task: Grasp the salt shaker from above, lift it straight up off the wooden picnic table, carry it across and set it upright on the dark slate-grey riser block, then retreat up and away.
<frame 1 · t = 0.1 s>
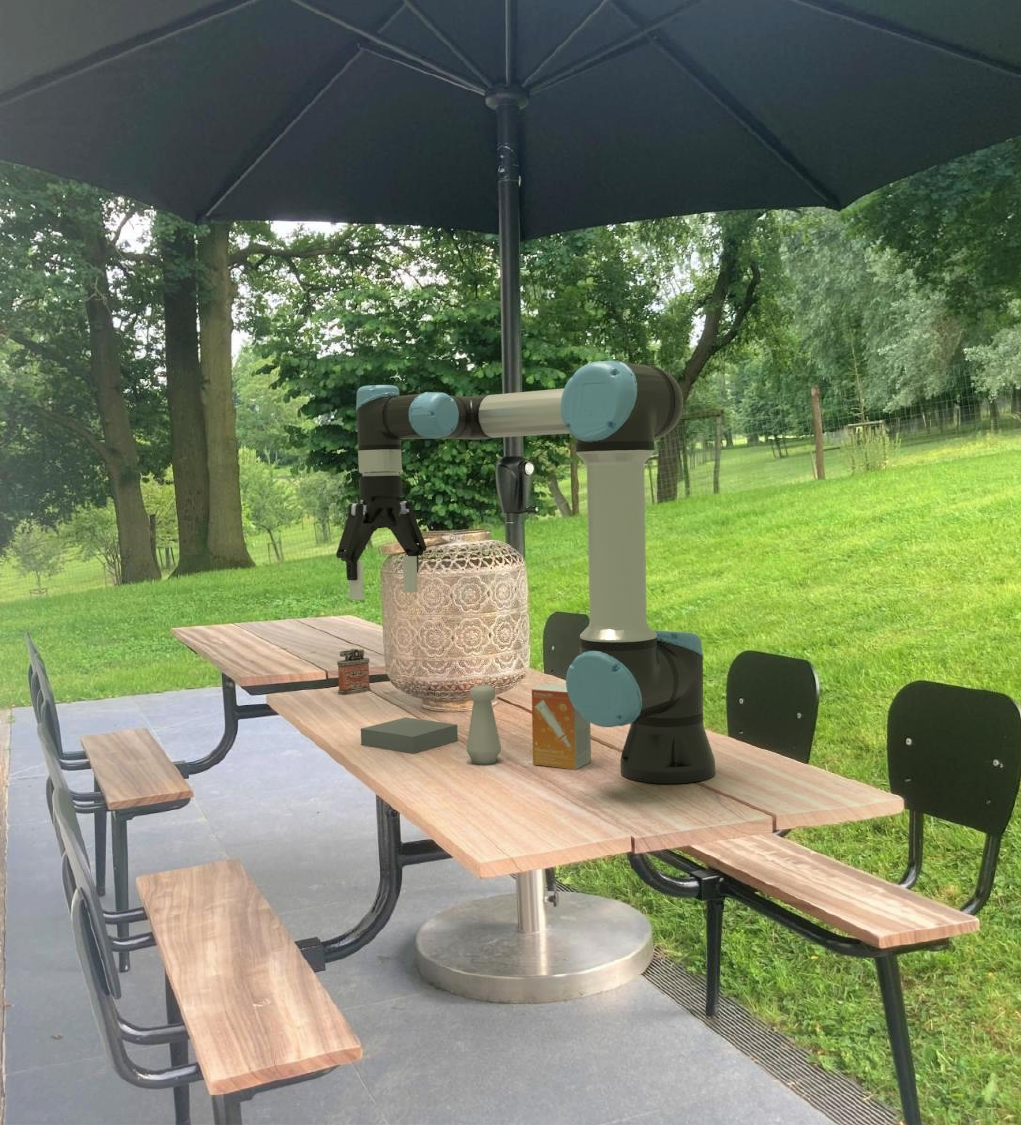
hand: (384, 595, 208), 28 cm above the table, tool pointing down, fingers open, 13 cm apart
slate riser: (409, 742, 217), on the table
lighter: (354, 693, 271), on the table
small box: (562, 764, 198), on the table
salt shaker: (484, 762, 201), on the table
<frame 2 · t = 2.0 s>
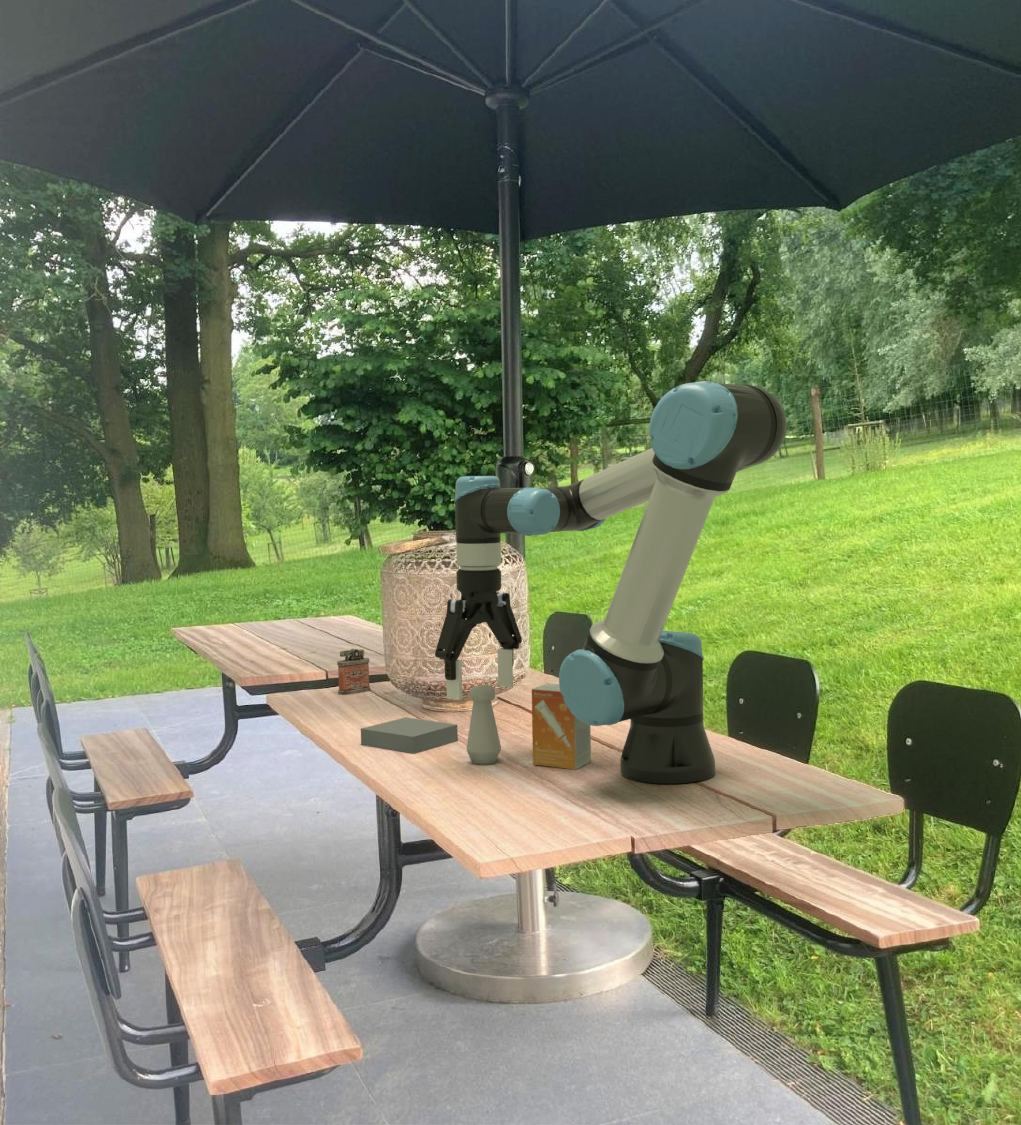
hand: (480, 692, 200), 12 cm above the table, tool pointing down, fingers open, 13 cm apart
nothing on the table moved.
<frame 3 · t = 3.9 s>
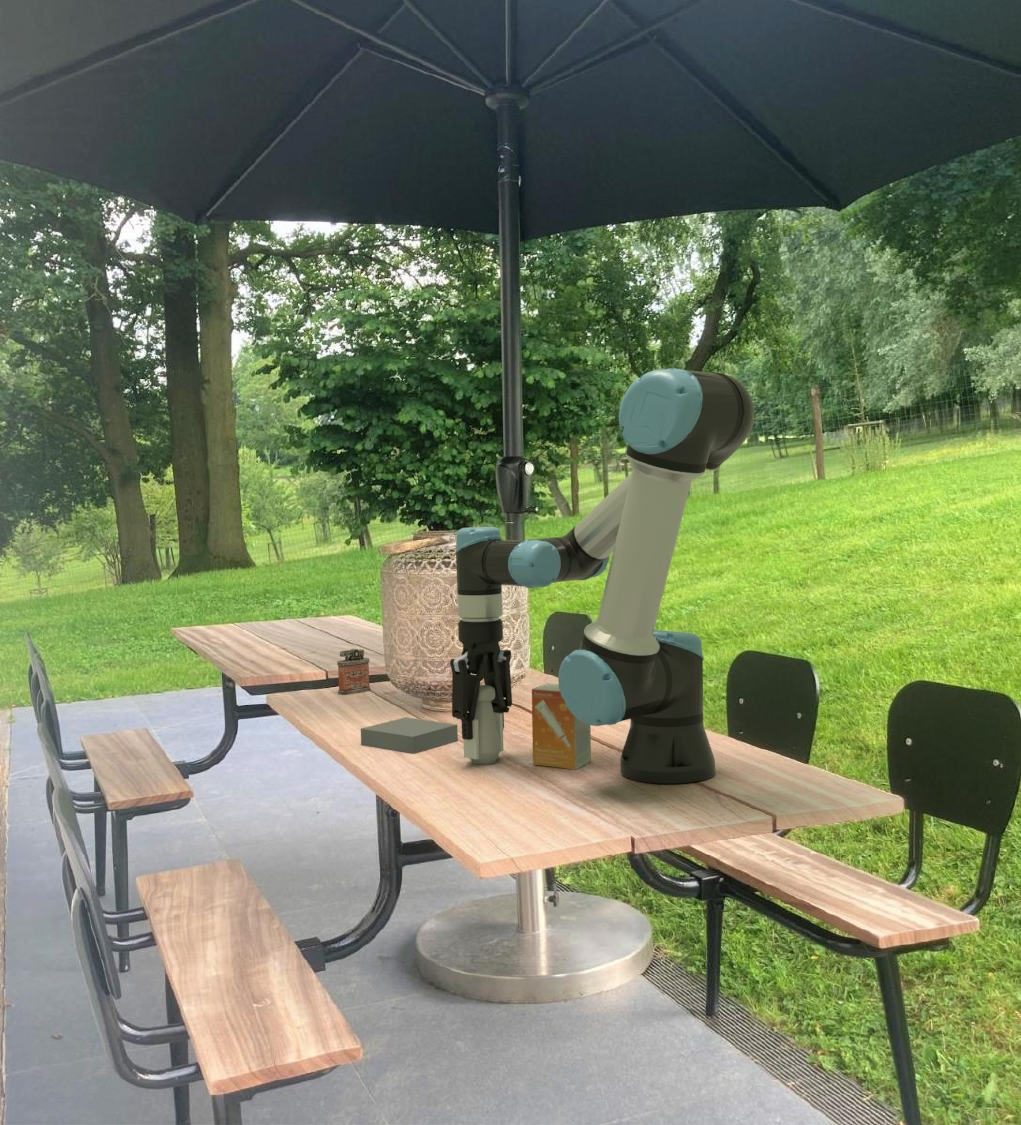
hand: (483, 753, 201), 1 cm above the table, tool pointing down, fingers closed on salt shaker, 6 cm apart
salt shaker: (484, 762, 201), on the table, touching gripper
everything else where it was.
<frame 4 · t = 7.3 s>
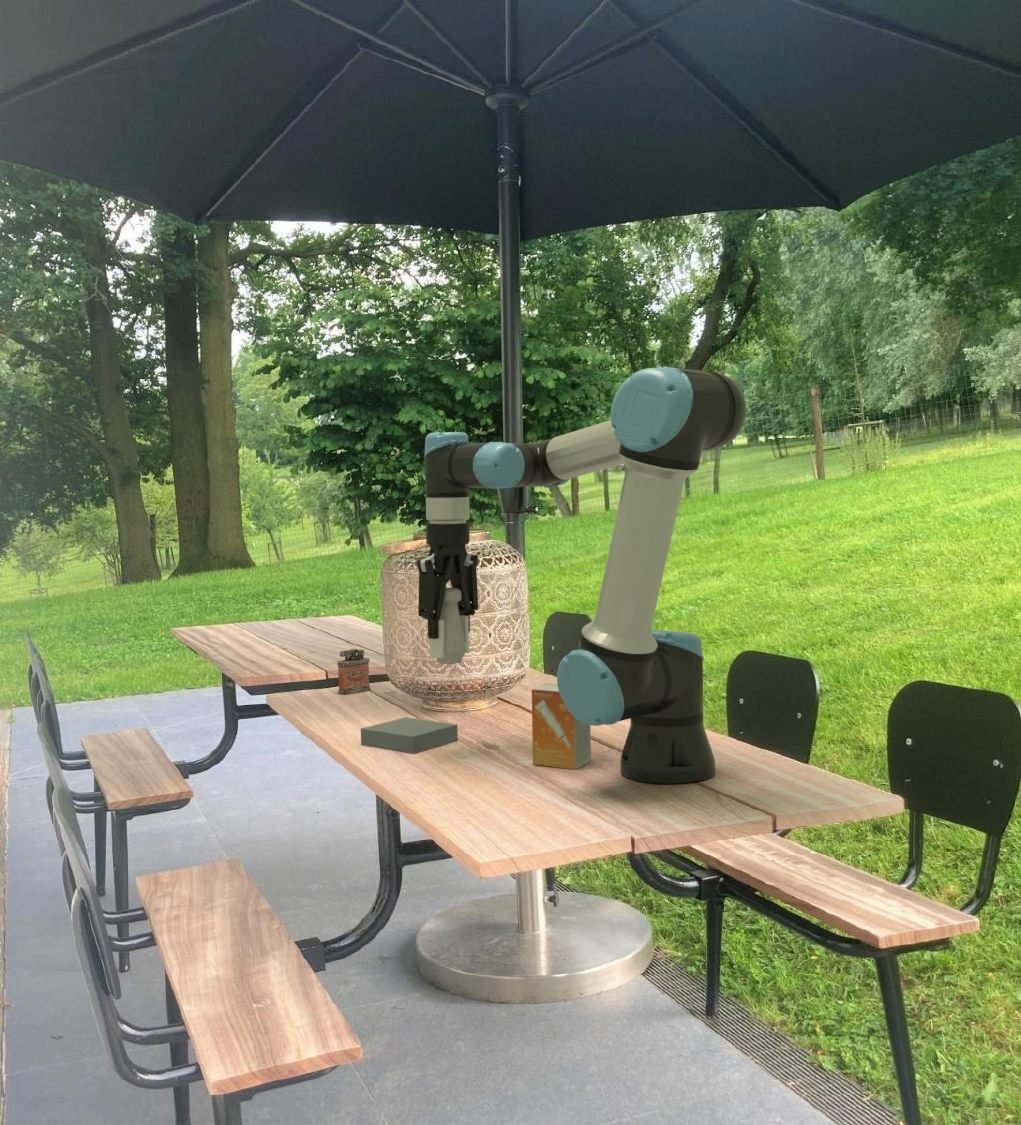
hand: (449, 654, 206), 18 cm above the table, tool pointing down, fingers closed on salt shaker, 6 cm apart
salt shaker: (449, 663, 206), point 16 cm above the table, touching gripper
everything else where it was.
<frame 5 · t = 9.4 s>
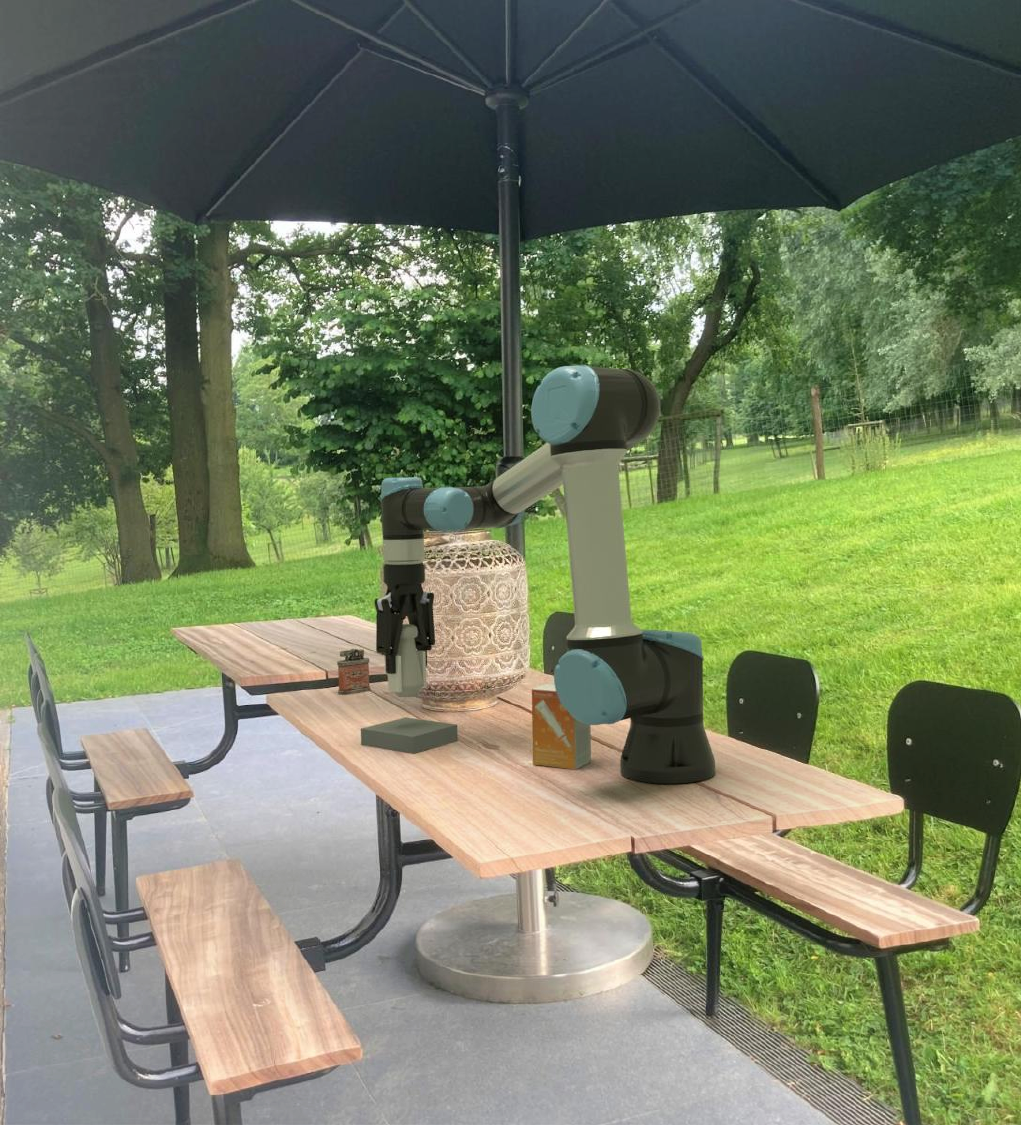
hand: (407, 688, 216), 10 cm above the table, tool pointing down, fingers closed on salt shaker, 6 cm apart
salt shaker: (407, 696, 217), point 9 cm above the table, touching gripper
everything else where it was.
when the fingers open (5 cm above the table, at t = 11.0 s): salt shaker stays where it is, resting on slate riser.
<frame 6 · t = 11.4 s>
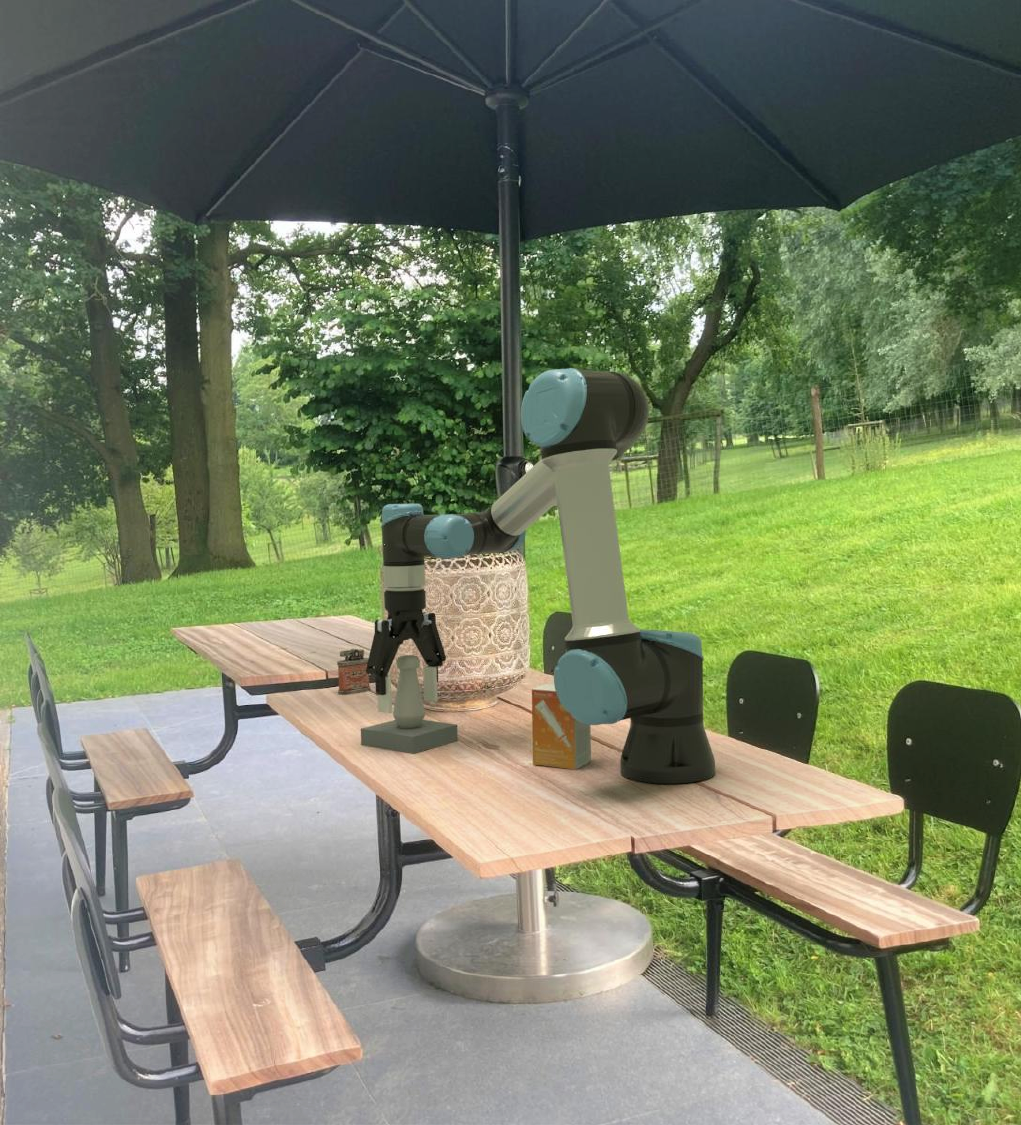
hand: (408, 706, 217), 7 cm above the table, tool pointing down, fingers open, 11 cm apart
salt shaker: (409, 727, 217), point 3 cm above the table, touching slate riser
everything else where it was.
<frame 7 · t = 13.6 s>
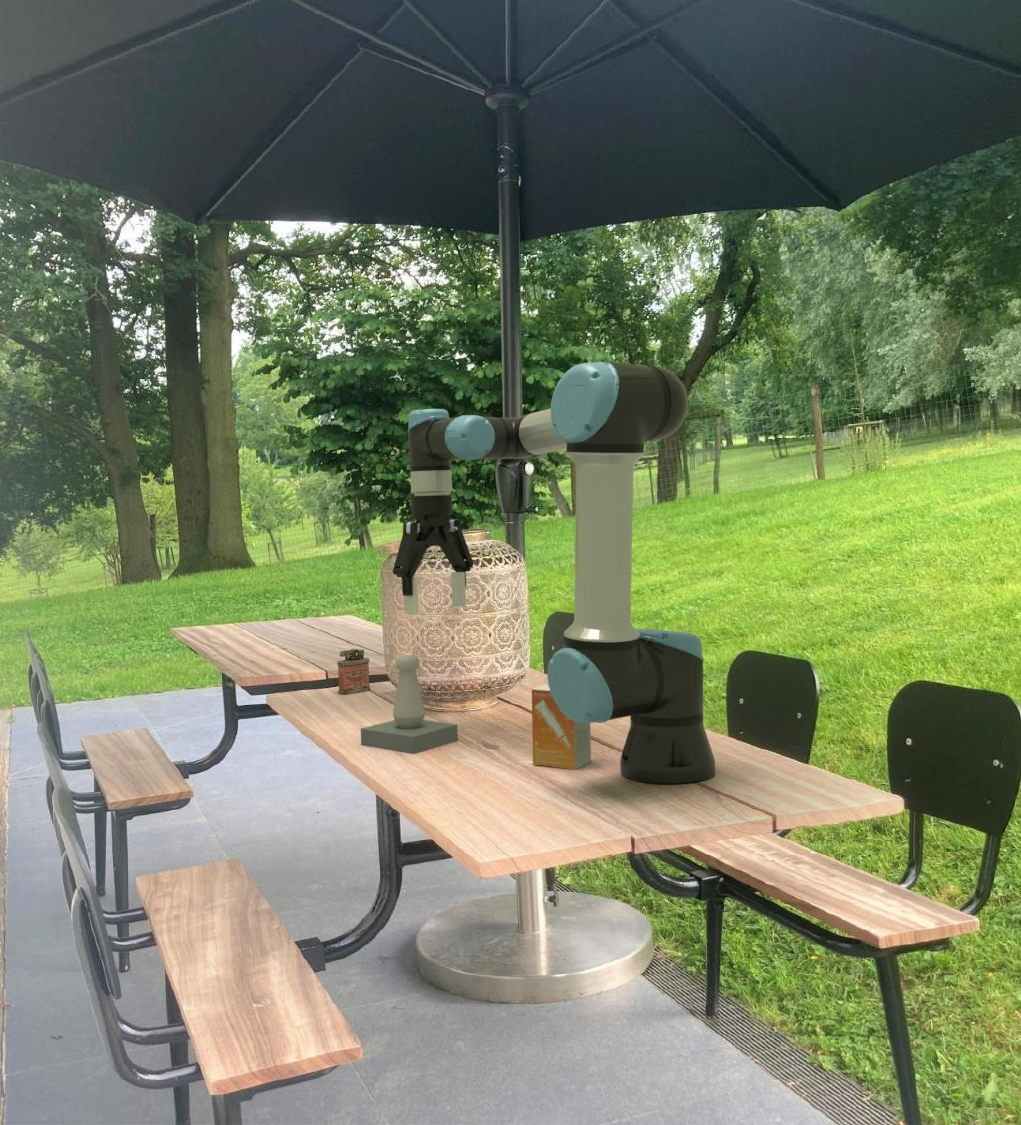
hand: (436, 610, 217), 24 cm above the table, tool pointing down, fingers open, 13 cm apart
nothing on the table moved.
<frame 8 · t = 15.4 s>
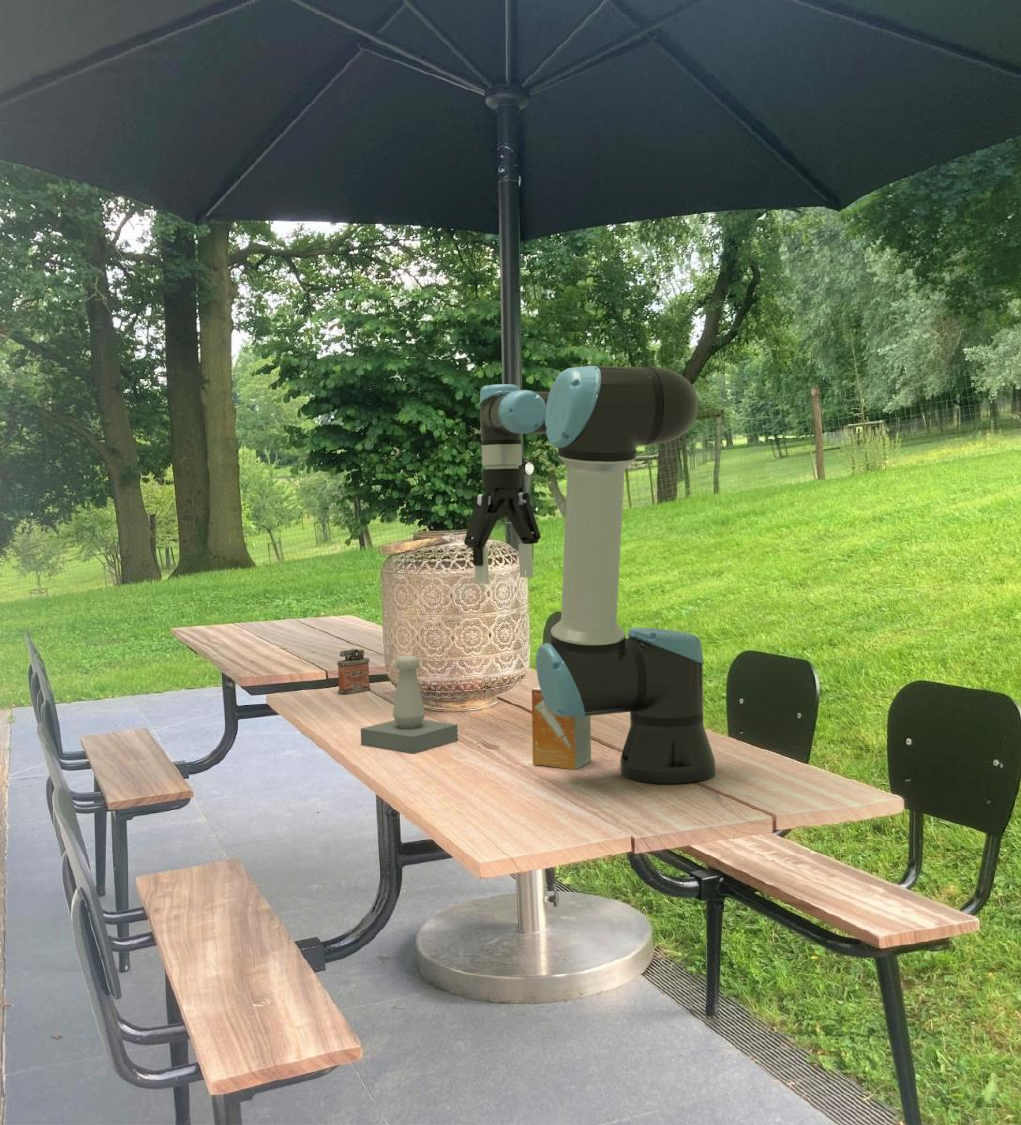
hand: (504, 580, 224), 29 cm above the table, tool pointing down, fingers open, 13 cm apart
nothing on the table moved.
at the end: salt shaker inside the target area on the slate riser (0.0 cm from its centre), point 2.8 cm above the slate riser's base; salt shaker tilted 0°; the gripper is holding nothing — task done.
